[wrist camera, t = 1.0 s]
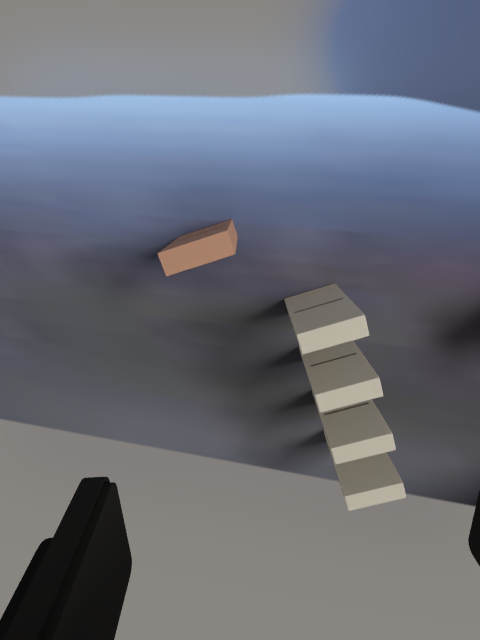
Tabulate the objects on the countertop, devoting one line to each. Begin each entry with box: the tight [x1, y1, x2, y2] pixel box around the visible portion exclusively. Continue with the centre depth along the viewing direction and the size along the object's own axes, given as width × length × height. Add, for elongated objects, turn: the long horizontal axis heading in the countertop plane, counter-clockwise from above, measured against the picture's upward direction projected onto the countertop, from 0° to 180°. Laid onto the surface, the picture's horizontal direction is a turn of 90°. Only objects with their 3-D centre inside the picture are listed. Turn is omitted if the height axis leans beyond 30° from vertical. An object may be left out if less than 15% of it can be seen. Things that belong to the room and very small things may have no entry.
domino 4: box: [312, 390, 396, 464], centre depth 34 cm, size 2×5×9 cm, turn 108°
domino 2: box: [284, 284, 369, 354], centre depth 31 cm, size 2×5×9 cm, turn 108°
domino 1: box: [157, 219, 238, 276], centre depth 29 cm, size 2×5×9 cm, turn 108°
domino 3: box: [298, 340, 383, 413], centre depth 32 cm, size 2×5×9 cm, turn 108°
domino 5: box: [323, 430, 406, 511], centre depth 35 cm, size 2×5×9 cm, turn 108°
